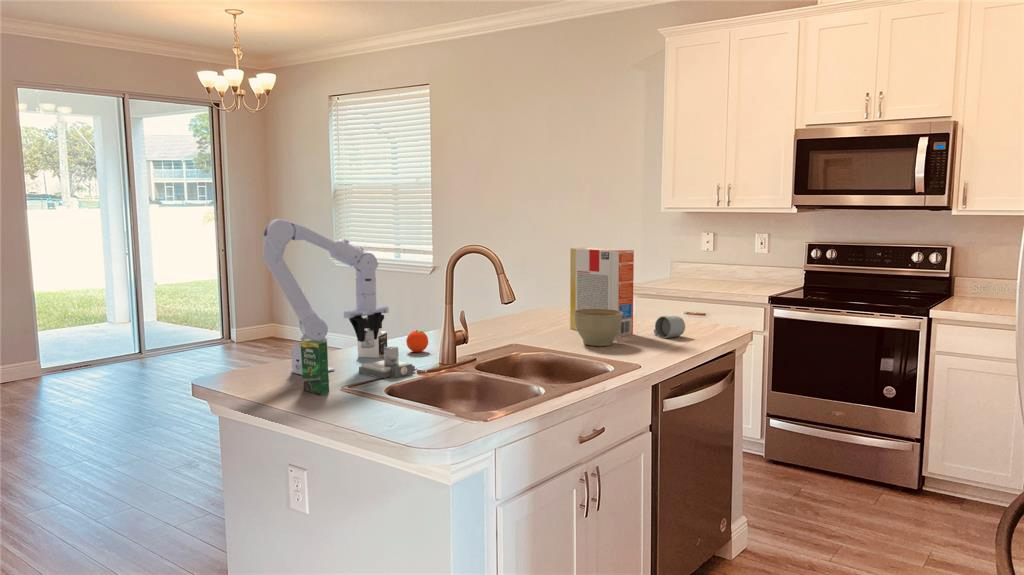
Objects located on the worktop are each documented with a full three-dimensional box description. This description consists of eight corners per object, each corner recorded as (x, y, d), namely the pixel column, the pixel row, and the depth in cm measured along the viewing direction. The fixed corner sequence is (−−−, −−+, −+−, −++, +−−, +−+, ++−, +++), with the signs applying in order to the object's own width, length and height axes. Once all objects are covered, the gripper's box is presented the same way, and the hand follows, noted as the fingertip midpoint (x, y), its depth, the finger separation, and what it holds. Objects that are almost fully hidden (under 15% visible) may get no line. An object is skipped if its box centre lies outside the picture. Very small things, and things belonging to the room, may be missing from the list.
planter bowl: (611, 350, 236) (611, 316, 235) (565, 345, 244) (565, 313, 243) (629, 342, 250) (630, 310, 249) (585, 338, 258) (586, 306, 257)
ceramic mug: (686, 337, 258) (687, 315, 258) (670, 339, 254) (670, 317, 253) (664, 333, 267) (664, 312, 266) (647, 335, 262) (648, 314, 261)
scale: (388, 379, 200) (388, 369, 199) (359, 372, 208) (358, 362, 208) (419, 372, 208) (419, 362, 208) (390, 365, 217) (389, 356, 216)
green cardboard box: (301, 390, 189) (299, 339, 188) (311, 388, 191) (309, 338, 190) (320, 395, 184) (318, 343, 182) (330, 393, 186) (328, 341, 185)
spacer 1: (366, 348, 213) (365, 331, 213) (357, 347, 216) (357, 330, 215) (377, 346, 216) (376, 329, 216) (368, 344, 219) (368, 328, 218)
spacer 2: (388, 367, 204) (388, 349, 204) (381, 365, 207) (381, 347, 207) (401, 365, 207) (400, 347, 206) (394, 363, 210) (393, 345, 209)
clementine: (429, 349, 241) (429, 327, 240) (433, 353, 234) (433, 330, 234) (404, 350, 239) (404, 328, 238) (408, 354, 232) (408, 332, 231)
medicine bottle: (379, 358, 227) (378, 319, 226) (357, 357, 229) (356, 318, 227) (387, 353, 234) (386, 315, 233) (366, 352, 236) (365, 315, 234)
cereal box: (632, 334, 265) (633, 250, 261) (618, 337, 260) (618, 251, 256) (585, 326, 282) (585, 247, 278) (570, 329, 277) (570, 248, 273)
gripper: (353, 297, 206) (355, 345, 208) (394, 292, 217) (395, 338, 219) (338, 295, 211) (340, 342, 213) (379, 290, 222) (380, 335, 223)
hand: (367, 340), depth 216 cm, fingers closed on spacer 1, 4 cm apart
